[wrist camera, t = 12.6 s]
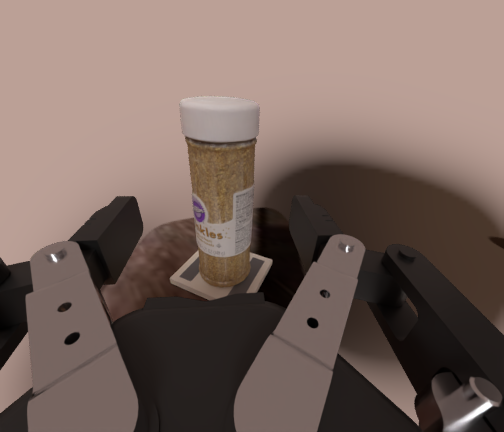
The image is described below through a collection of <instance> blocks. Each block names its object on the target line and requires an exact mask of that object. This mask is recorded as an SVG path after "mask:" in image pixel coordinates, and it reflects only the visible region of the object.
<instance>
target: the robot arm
mask: <svg viewBox="0 0 504 432" xmlns="http://www.w3.org/2000/svg"><path fill="white" fill-rule="evenodd" d="M289 230H290V233H291V235H292V238H293V240H294V243H295V246H296V248H297V251H298V253H299V256H300V258H301V261H302V263H303V266H304V268H305V271H306V273H307V274H306V276H305V278H304V279H303V281H302V283H301V285H300V286H299V288H298V290H297V292H296V294H295V295H294V297H293V299H292V301H291V302H290V304H289V306H288V308H287V309H286V308H284V307H282V306H280V305H277V304H275V303H271V302H267V301H265V300H264V294H263V292H258V293H238V294H233V295H229V296H225V297H221V298H218V299H214V300H210V301H199V300H194V299H188V298H182V297H157V298H147V300H146V303H145V305H144V308H142V309H138V310H136V311H133V312H131V313H129V314H126V315H124V316H123V317H121V318H119V319H117V320H116V321H113V319H112V317H111V314H110V312H109V309H108V307H107V305H106V302H105V300H104V298H103V295H102V293H101V291H100V289H101V287H102V285H110V284H116V282H117V280H118V278H119V276H120V274H121V273H122V271H123V269H124V267H125V265H126V263H127V261H128V260H129V258H130V256H131V254H132V252H133V250H134V248H135V247H136V245H137V243H138V241H139V239H140V237H141V236H142V233H143V222H142V218H141V214H140V211H139V207H138V203H137V200H136V198H135V197H134V196H119V197H118V196H117V197H116V198H115V199H114V200H113V201H112V202H111V203H110V204H109V205H108V206H105V207H104V208H102V209H100V210H98V211H97V212H95V213H94V214H93V215H92V216H91V217H90V220H88V221H87V222H86V223H85V224H84V225H83V226H82V227H81V228H80V229H79V230H78V231H77V232H76V233H75V234H74V235H73V236H72V237H71V238H70V239H69V240H68V241H63V242H58V243H54V244H51V245H48V246H46V247H44V248H42V249H40V250H39V251H37V252H36V253H35V254H34V255H33V256H32V257H31V260H30V261H27V262H23V263H17V264H13V265H8V266H6V264H5V263H4V262H3V260H2V259H1V258H0V370H1V368H2V367H3V366H4V364H5V363H6V361H7V360H8V359H9V357H10V356H11V355H12V353H13V352H14V350H15V349H16V348H17V346H18V345H19V343H20V342H21V341H22V339H23V338H24V336H25V335H26V334H27V332H28V333H29V346H30V358H31V370H32V382H33V387H32V388H31V389H30V390H28V391H27V392H26V393H25V394H24V395H22V396H21V397H20V398H19V399H17V400H16V401H15V402H14V403H12V404H11V405H10V406H9V407H8V408H6V409H5V410H4V411H3V412H2V413H0V432H504V335H503V334H502V333H501V332H500V331H499V330H498V329H497V328H496V327H495V326H494V325H493V324H492V323H491V322H490V321H489V320H488V319H487V318H486V317H485V316H484V315H483V314H482V313H481V312H480V311H479V310H478V309H477V308H476V307H475V306H474V305H473V304H472V303H471V302H470V301H469V300H468V299H467V298H466V297H465V296H464V295H463V294H462V293H461V292H460V291H459V290H458V289H457V288H456V287H455V286H454V285H453V284H452V283H451V282H450V281H449V280H448V279H447V278H446V277H445V276H444V275H443V274H442V273H441V272H440V271H439V270H438V269H437V268H435V266H434V265H433V264H432V263H431V262H430V261H429V260H427V258H426V257H425V256H423V255H422V254H421V253H420V252H418V251H417V250H415V249H413V248H410V247H408V246H405V245H400V244H392V245H389V246H388V247H387V249H386V251H385V253H381V252H376V251H370V250H366V249H365V247H364V245H363V244H362V243H361V242H360V241H359V240H357V239H356V238H354V237H351V236H348V235H344V234H343V233H342V231H341V230H340V229H339V227H338V226H337V224H336V223H335V222H334V221H333V219H332V218H331V216H330V215H329V214H328V212H327V211H326V210H325V209H324V208H322V207H321V206H320V205H317V204H314V203H313V201H312V200H311V199H310V197H309V196H294V197H293V199H292V206H291V212H290V219H289ZM407 297H408V298H409V299H410V300H411V302H412V303H413V304H414V306H415V307H416V309H417V312H418V317H417V316H416V314H415V313H414V311H413V310H412V309H411V307H410V306H409V305H408V303H407V302H406V298H407ZM353 298H355V299H359V300H364V301H367V303H368V305H369V307H370V309H371V310H372V312H373V314H374V316H375V318H376V320H377V321H378V323H379V325H380V327H381V329H382V331H383V333H384V334H385V336H386V338H387V340H388V342H389V344H390V345H391V347H392V349H393V351H394V353H395V355H396V356H397V358H398V360H399V362H400V364H401V365H402V367H403V369H404V371H405V373H406V375H407V376H408V378H409V380H410V382H411V384H412V386H413V387H414V389H415V391H416V393H417V395H416V397H415V403H414V404H415V410H416V414H417V417H418V419H419V426H418V425H417V424H416V423H415V422H414V421H413V420H412V419H411V418H409V416H407V415H406V414H405V413H404V412H403V411H402V410H401V409H400V408H398V407H397V406H396V405H395V404H394V403H393V402H392V401H391V400H390V399H388V398H387V397H386V396H385V395H384V394H383V393H382V392H380V391H379V390H378V389H377V388H376V387H375V386H374V385H373V384H372V383H371V382H369V381H368V380H367V379H366V378H365V377H364V376H363V375H362V374H360V373H359V372H358V371H357V370H356V369H355V368H354V367H353V366H352V365H350V364H349V363H348V362H347V361H346V360H345V359H344V358H343V357H341V356H340V355H339V354H338V349H339V346H340V342H341V339H342V335H343V332H344V328H345V325H346V321H347V318H348V314H349V310H350V307H351V304H352V300H353Z"/></svg>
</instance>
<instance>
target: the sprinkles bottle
mask: <svg viewBox="0 0 504 432" xmlns="http://www.w3.org/2000/svg"><path fill="white" fill-rule="evenodd" d="M259 109H260V108H259V104H258V103H257V102H255V101H252V100H248V99H242V98H235V97H221V96H201V97H191V98H185V99H183V100H182V101H181V102H180V117H181V126H182V133H183V134H184V135H185V139H186V142H187V145H188V154H189V163H190V164H189V165H190V172H191V173H190V175H191V181H192V189H193V190H192V201H193V211H194V220H195V230H196V240H197V244H198V250H199V260H200V263H199V272H200V275H201V277H202V278H203V280H204V281H205V282H207V283H208V284H210V285H213V286H216V287H217V286H218V287H231V286H234V285H236V284H239V283H240V282H242V281H244V280H245V278H246V277H247V276H248V274H249V272H250V268H251V266H250V243H251V236H252V218H253V196H254V157H255V154H254V153H255V144H256V142H257V139H256V137H257V136H258V133H259V111H260V110H259Z"/></svg>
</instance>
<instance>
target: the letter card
mask: <svg viewBox="0 0 504 432" xmlns="http://www.w3.org/2000/svg"><path fill="white" fill-rule="evenodd" d="M199 263H200V260H199V250H198V251H197V252H196V253H195V254H194V255H193V256H192V257H191V258H190V259H189V260H188V261H187V262H186V263H185V264H184V265H183V266H182V267H181V268H180V269H179V270H178V271H176V272H175V273H174V274H173V275H172V276H171V277H170V282H171V284H174V285H176V286H178V287H180V288H183V289H185V290H187V291H189V292H192V293H194V294H196V295H198V296H201V297H203V298H205V299H207V300H214V299H218V298H221V297H225V296H229V295H233V294H238V293H257V292H258V290H259V288H260V286H261V284H262V282H263V280H264V279H265V277H266V275H267V273H268V271H269V269H270V267H271V265H272V260H271V259H268V258H265V257H262V256H259V255H256V254H253V253H250V266H251V268H250V272H249V274H248V276H247V277H246V278H245V280H244V281H242V282H240V283H239V284H236V285H234V286H231V287H218V286H217V287H216V286H213V285H210V284H208V283H207V282H205V281H204V280H203V278H202V277H201V275H200V272H199Z"/></svg>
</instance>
